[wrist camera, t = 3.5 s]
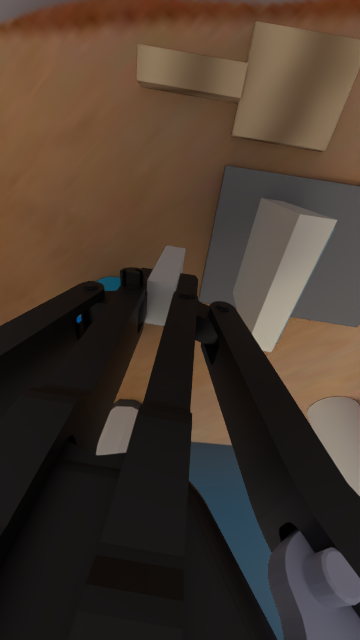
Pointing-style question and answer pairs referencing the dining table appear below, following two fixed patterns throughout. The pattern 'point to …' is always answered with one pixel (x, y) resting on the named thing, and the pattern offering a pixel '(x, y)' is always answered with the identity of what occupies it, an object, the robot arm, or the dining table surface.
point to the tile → (278, 266)
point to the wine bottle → (118, 427)
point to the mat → (334, 264)
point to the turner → (267, 82)
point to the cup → (339, 434)
